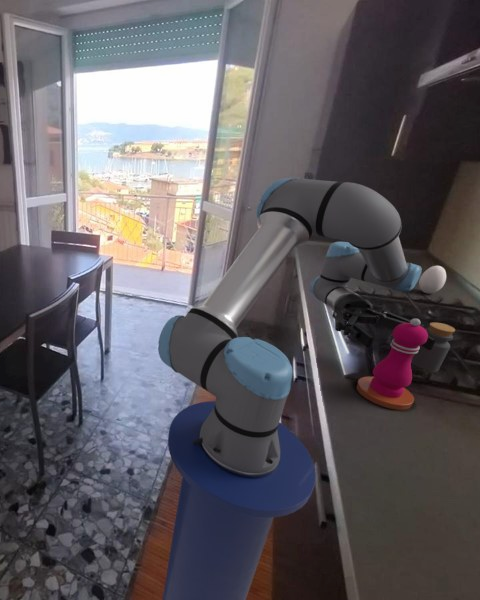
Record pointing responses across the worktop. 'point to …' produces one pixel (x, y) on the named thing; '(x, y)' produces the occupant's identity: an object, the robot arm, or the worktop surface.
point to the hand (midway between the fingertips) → (400, 344)
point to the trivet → (382, 400)
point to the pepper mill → (399, 360)
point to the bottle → (434, 347)
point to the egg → (432, 279)
